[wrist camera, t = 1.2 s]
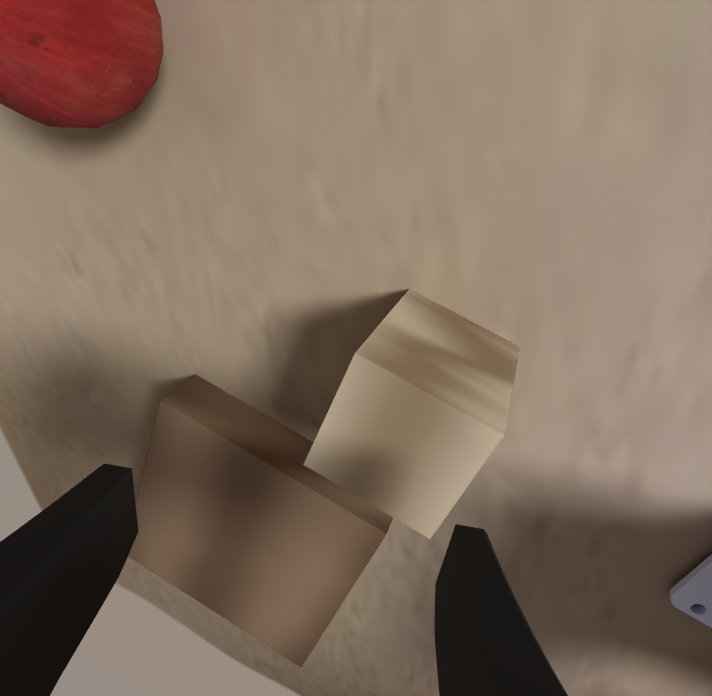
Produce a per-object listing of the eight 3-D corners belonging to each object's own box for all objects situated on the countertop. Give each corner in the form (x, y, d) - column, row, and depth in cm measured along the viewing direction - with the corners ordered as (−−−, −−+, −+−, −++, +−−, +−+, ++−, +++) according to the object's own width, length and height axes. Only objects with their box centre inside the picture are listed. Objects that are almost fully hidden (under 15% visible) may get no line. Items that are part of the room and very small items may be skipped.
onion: (152, 157, 21) (-47, 181, 14) (53, 34, 20) (-206, -4, 13) (241, 44, 18) (45, 5, 11) (129, -105, 17) (-152, -242, 11)
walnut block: (405, 488, 24) (386, 533, 21) (324, 618, 29) (301, 667, 27) (201, 370, 25) (160, 399, 23) (160, 515, 31) (123, 553, 28)
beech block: (520, 346, 19) (504, 435, 14) (462, 435, 21) (429, 539, 16) (409, 288, 20) (355, 353, 14) (364, 380, 22) (303, 464, 17)
